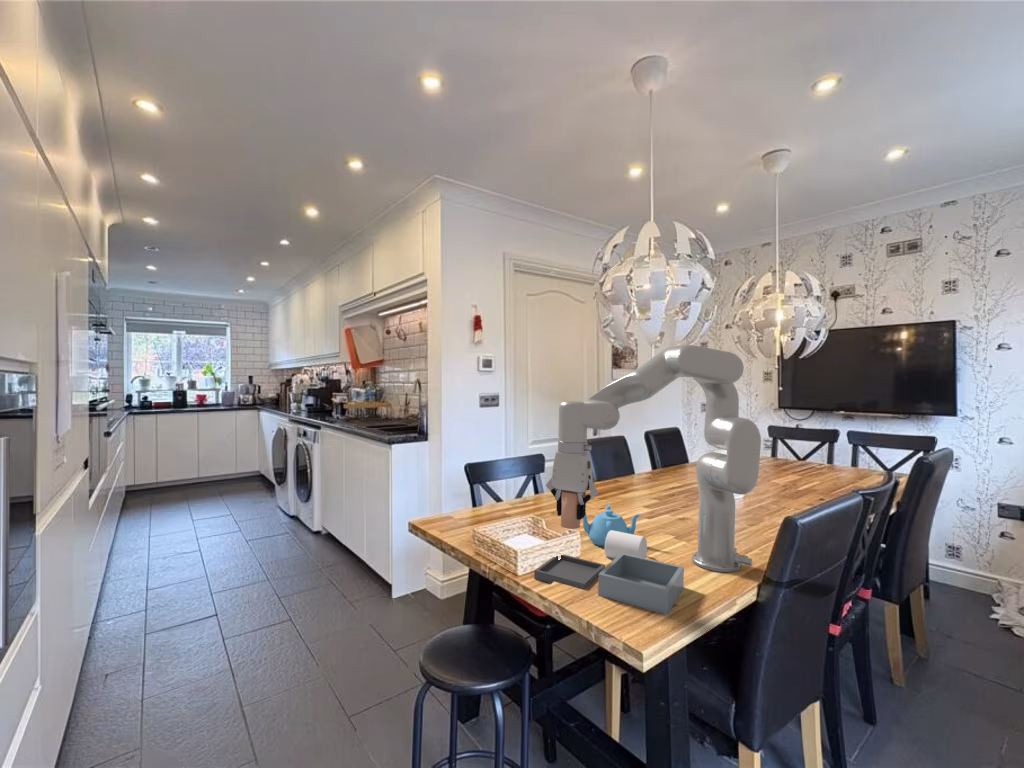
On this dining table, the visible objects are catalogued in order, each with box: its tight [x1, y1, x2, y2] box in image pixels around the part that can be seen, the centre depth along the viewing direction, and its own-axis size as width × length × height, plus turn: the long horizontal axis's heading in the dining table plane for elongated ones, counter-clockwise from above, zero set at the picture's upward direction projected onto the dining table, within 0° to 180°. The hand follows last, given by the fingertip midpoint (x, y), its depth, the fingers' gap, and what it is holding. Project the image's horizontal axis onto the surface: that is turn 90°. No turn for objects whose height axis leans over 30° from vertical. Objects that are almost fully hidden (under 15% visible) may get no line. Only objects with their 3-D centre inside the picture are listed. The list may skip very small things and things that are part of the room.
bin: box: [597, 553, 685, 615], centre depth 110 cm, size 16×16×6 cm
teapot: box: [582, 503, 642, 548], centre depth 146 cm, size 15×15×10 cm
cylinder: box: [560, 491, 581, 530], centre depth 120 cm, size 5×5×9 cm
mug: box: [604, 530, 648, 560], centre depth 132 cm, size 12×10×8 cm
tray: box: [533, 554, 606, 590], centre depth 120 cm, size 14×14×2 cm
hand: (570, 515), depth 120 cm, fingers closed on cylinder, 5 cm apart
